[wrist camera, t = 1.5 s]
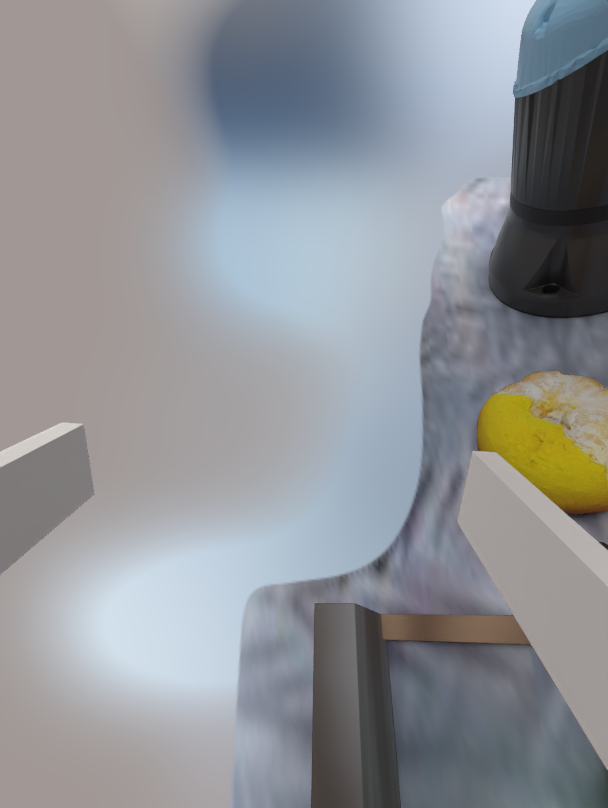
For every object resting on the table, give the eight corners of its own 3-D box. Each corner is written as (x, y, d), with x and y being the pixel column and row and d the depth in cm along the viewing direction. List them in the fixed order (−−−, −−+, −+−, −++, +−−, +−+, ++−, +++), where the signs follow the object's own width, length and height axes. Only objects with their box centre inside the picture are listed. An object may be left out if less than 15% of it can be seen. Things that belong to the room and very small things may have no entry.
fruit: (690, 513, 22) (698, 472, 17) (512, 533, 28) (479, 507, 23) (610, 377, 28) (599, 319, 23) (478, 417, 34) (447, 377, 29)
